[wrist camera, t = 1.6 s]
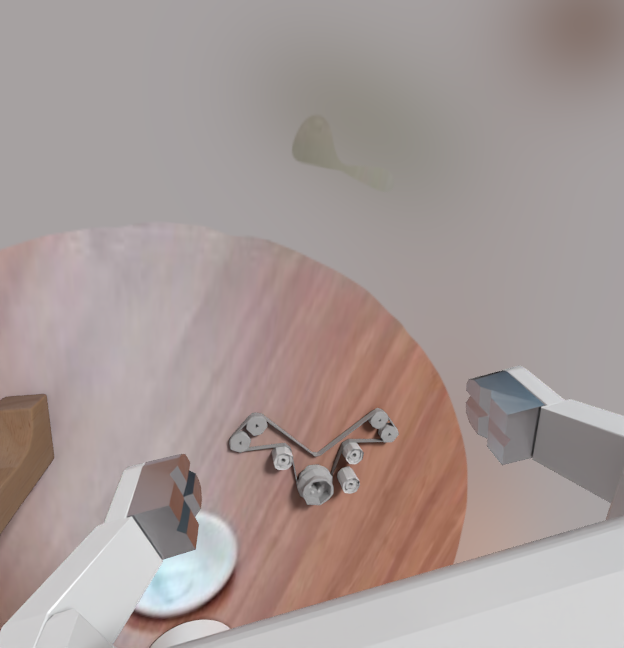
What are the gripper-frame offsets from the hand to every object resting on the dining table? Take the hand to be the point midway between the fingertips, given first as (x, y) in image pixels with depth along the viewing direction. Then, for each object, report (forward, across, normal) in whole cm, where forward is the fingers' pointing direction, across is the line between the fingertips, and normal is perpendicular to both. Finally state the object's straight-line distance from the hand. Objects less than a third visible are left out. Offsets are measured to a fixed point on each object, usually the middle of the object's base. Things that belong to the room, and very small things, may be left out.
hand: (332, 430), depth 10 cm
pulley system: (+34, -2, -38) cm, 51 cm away
